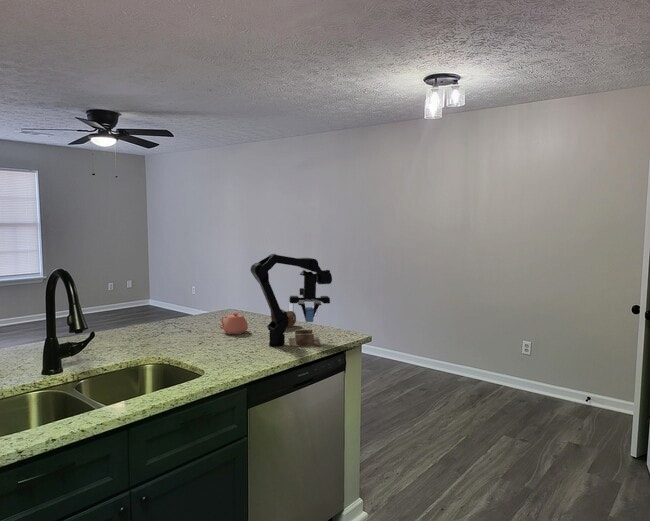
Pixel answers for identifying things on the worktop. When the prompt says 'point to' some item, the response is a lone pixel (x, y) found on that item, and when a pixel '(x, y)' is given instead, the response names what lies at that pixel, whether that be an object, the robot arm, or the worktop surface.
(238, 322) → the sugar bowl
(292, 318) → the tin
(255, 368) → the worktop surface
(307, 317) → the block
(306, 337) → the cradle
